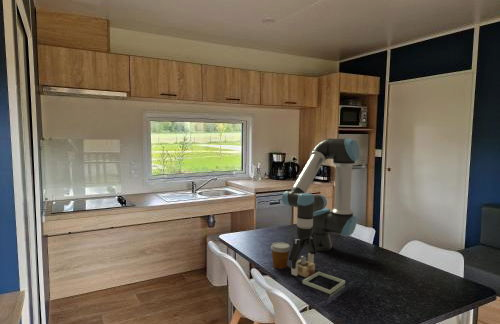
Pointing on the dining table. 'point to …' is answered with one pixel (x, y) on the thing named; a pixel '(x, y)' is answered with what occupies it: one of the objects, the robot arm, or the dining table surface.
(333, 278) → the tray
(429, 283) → the dining table surface
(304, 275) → the wooden square frame
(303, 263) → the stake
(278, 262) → the disposable coffee cup
